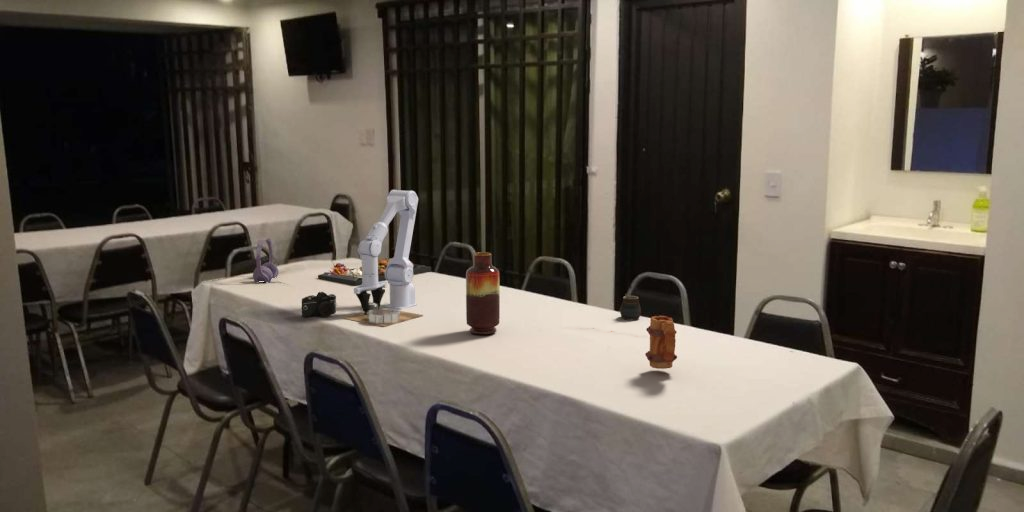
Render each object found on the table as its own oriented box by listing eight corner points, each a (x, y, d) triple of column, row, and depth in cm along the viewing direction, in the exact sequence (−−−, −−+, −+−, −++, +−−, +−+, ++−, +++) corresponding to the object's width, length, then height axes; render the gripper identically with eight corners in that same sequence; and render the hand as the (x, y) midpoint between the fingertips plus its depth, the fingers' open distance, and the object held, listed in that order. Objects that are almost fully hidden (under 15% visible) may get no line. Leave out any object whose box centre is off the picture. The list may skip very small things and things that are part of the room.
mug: (642, 362, 237) (643, 311, 234) (670, 362, 237) (671, 311, 235) (655, 378, 222) (656, 323, 220) (684, 377, 223) (686, 323, 221)
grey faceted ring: (383, 315, 295) (382, 306, 295) (405, 319, 289) (405, 310, 288) (360, 320, 286) (360, 312, 286) (383, 325, 280) (383, 316, 280)
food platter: (356, 291, 342) (355, 267, 340) (318, 285, 356) (317, 261, 355) (431, 276, 377) (430, 254, 375) (393, 270, 392) (393, 249, 390)
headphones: (269, 287, 349) (266, 240, 346) (249, 287, 349) (247, 240, 346) (281, 279, 367) (279, 234, 364) (263, 279, 367) (261, 234, 364)
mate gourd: (643, 318, 292) (644, 290, 290) (637, 322, 285) (637, 294, 284) (623, 316, 295) (624, 288, 294) (617, 320, 288) (617, 292, 287)
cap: (371, 311, 301) (370, 301, 301) (381, 313, 299) (380, 303, 298) (361, 313, 297) (361, 303, 297) (371, 315, 295) (370, 305, 294)
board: (382, 308, 307) (382, 307, 307) (423, 316, 295) (423, 314, 295) (342, 319, 291) (342, 318, 291) (383, 326, 279) (383, 325, 279)
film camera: (303, 322, 287) (312, 297, 285) (295, 312, 293) (303, 287, 291) (337, 325, 296) (346, 300, 294) (329, 315, 302) (337, 291, 299)
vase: (504, 328, 277) (504, 251, 273) (492, 336, 267) (492, 256, 263) (473, 326, 281) (473, 250, 277) (461, 333, 270) (460, 255, 266)
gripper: (376, 269, 304) (377, 305, 306) (347, 274, 292) (348, 312, 294) (390, 271, 300) (391, 307, 302) (361, 277, 288) (362, 314, 290)
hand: (371, 310), depth 298 cm, fingers closed on cap, 5 cm apart
